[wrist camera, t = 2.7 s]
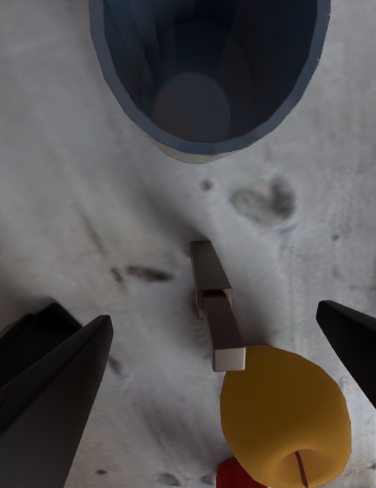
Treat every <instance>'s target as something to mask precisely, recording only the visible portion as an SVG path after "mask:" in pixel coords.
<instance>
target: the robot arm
mask: <svg viewBox="0 0 376 488" xmlns="http://www.w3.org/2000/svg"><path fill="white" fill-rule="evenodd" d="M53 309H54V310H53ZM316 320H317V322H318V324H319V326H320V328H321V329H322V331H323V333H324V334H325V336H326V338H327V339H328V341H329V343H330V344H331V346H332V348H333V349H334V351H335V353H336V354H337V356H338V357H339V359H340V360H341V362H342V363H343V364H344V366H345V367H346V369H347V370H348V371H349V373H350V374H351V376H352V377H353V378H354V380H355V381H356V382H357V384H358V385H359V387H360V388H361V389H362V391H363V392H364V394H365V395H366V396H367V398H368V399H369V401H370V402H371V403H372V405H373V406H374V407H375V409H376V318H374V317H371V316H369V315H366V314H364V313H361V312H359V311H356V310H354V309H351V308H349V307H346V306H344V305H341V304H339V303H336V302H334V301H331V300H324V301H320V302H319V304H318V309H317V314H316ZM112 339H113V326H112V322H111V317H110V316H109V315H100V316H98V317H96V318H95V319H94V320H92V321H91V322H90V323H88V324H87V325H86V326H84V327H83V328H82V327H81V326H80V325H79V324H78V323H77V322H76V321H75V320H74V319H73V318H72V317H71V316H70V315H69V314H68V313H67V312H66V311H65V310H64V309H63V308H62V307H60V306H59V305H58V304H56V303H52V304H50V305H48V306H47V307H45V308H44V309H42V310H40V311H39V312H37V313H36V314H34V315H33V314H32V313H28V314H26V315H24V316H23V317H21V318H20V319H18V320H16V321H15V322H13V323H12V324H10V325H8V326H7V327H6V328H5V329H3V330H2V331H1V332H0V488H63V487H64V485H65V482H66V479H67V476H68V473H69V471H70V468H71V465H72V462H73V459H74V456H75V454H76V451H77V448H78V445H79V442H80V440H81V437H82V434H83V431H84V428H85V426H86V423H87V420H88V417H89V414H90V411H91V409H92V406H93V403H94V400H95V397H96V395H97V392H98V389H99V386H100V383H101V380H102V377H103V374H104V371H105V367H106V363H107V359H108V355H109V351H110V347H111V343H112Z"/></svg>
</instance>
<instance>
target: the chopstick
mask: <svg viewBox="0 0 376 488" xmlns="http://www.w3.org/2000/svg"><path fill="white" fill-rule="evenodd" d="M190 244H191V262H192V270H193V278H194V286H195V294H196V303H197V311H198V317H199V318H204V319H205V325H206V332H207V338H208V344H209V350H210V356H211V362H212V368H213V371H214V372H223V371H238V370H244V369H245V358H246V344H245V341H244V339H243V336H242V333H241V331H240V328H239V326H238V323H237V320H236V318H235V315H234V313H233V310H232V307H231V303H232V287H231V285H230V283H229V281H228V279H227V276H226V274H225V272H224V270H223V267H222V265H221V263H220V261H219V259H218V256H217V254H216V252H215V250H214V247H213V245H212V243H211V241H193V242H190Z"/></svg>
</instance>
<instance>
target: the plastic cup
mask: <svg viewBox="0 0 376 488" xmlns="http://www.w3.org/2000/svg"><path fill="white" fill-rule="evenodd" d="M216 488H268V487H267V486H265V485H263V484H261V483H259V482H257V481H255V480H254V479H253V478H252V477H251V476H250V475H249V474H248V473H247V471H246V470H245V469H244V468H243V467H242V466H241V464H240V463H239V462H238V460H237V459H236V458H233V459H230V460H227V461H225V462H223V463H222V464H220V465H219V467H218V469H217V476H216Z"/></svg>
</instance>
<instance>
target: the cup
mask: <svg viewBox="0 0 376 488" xmlns="http://www.w3.org/2000/svg"><path fill="white" fill-rule="evenodd" d="M330 13H331V0H89V14H90V29H91V35H92V41H93V44H94V47H95V50H96V53H97V57H98V60H99V63H100V66H101V69H102V72H103V75H104V79H105V80H106V83H107V84H108V86H109V88H110V89H111V91H112V92H113V94H114V96H115V97H116V99H117V100H118V102H119V104H120V105H121V107H122V108H123V110H124V112H125V113H126V115H127V116H128V117H129V118H130V119H131V120H132V121H133V123H134V124H135V125H136V126H137V127H138V128H139V129H140V130H141V131H142V132H143V134H144V135H145V136H146V137H147V138H148V139H149V140H150V141H151V142H152V143H153V144H154V145H155V146H156V147H157V148H158V149H159V150H161V151H162V152H163V153H164V154H166V155H167V156H169V157H171V158H173V159H175V160H177V161H180V162H183V163H189V164H203V163H207V162H211V161H215V160H218V159H221V158H223V157H226V156H228V155H230V154H233V153H235V152H238V151H240V150H242V149H245V148H247V147H249V146H250V145H252V144H253V143H255V142H256V141H258V140H260V139H261V138H263V137H264V136H266V135H267V134H269V133H270V132H272V131H273V130H274V129H276V128H277V127H278V126H279V124H280V123H281V122H282V121H283V120H284V119H285V117H286V116H287V115H288V114H289V113H290V112H291V111H292V109H293V108H294V107H295V106H296V105H297V104H298V102H299V101H300V99H301V98H302V96H303V94H304V92H305V90H306V88H307V86H308V84H309V82H310V80H311V78H312V76H313V74H314V72H315V70H316V68H317V66H318V64H319V61H320V58H321V54H322V50H323V45H324V41H325V37H326V32H327V28H328V24H329V19H330Z"/></svg>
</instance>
